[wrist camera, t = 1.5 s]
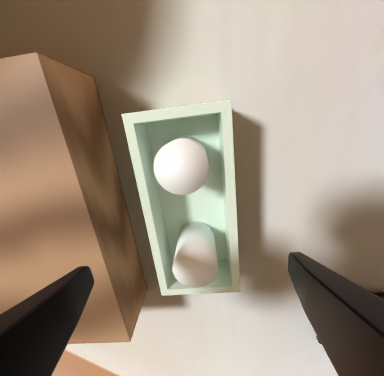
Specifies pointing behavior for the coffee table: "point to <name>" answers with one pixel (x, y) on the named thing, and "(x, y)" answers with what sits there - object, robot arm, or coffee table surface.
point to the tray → (188, 194)
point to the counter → (63, 197)
